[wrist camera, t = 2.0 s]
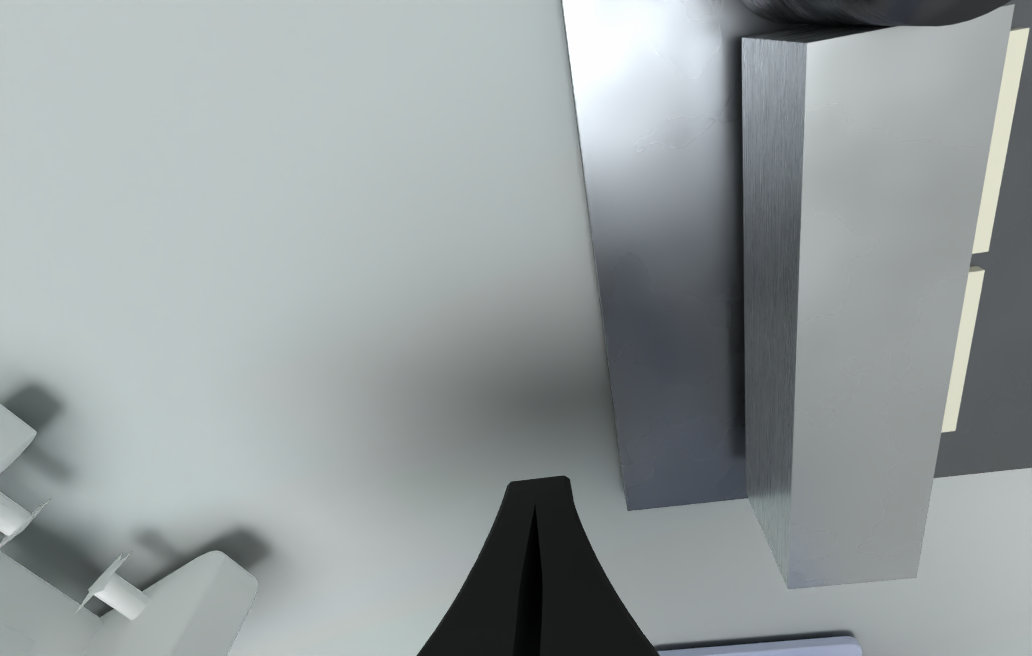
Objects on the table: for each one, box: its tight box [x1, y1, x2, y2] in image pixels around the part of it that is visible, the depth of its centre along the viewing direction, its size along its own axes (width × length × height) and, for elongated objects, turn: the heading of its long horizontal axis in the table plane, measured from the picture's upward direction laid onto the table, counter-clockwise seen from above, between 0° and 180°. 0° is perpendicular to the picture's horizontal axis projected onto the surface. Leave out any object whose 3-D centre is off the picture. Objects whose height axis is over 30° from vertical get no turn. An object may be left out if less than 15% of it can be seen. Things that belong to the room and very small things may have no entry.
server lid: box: [561, 0, 1032, 511], centre depth 15 cm, size 17×16×1 cm
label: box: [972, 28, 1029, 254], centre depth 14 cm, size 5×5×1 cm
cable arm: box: [741, 0, 1015, 589], centre depth 13 cm, size 16×3×5 cm, turn 10°
